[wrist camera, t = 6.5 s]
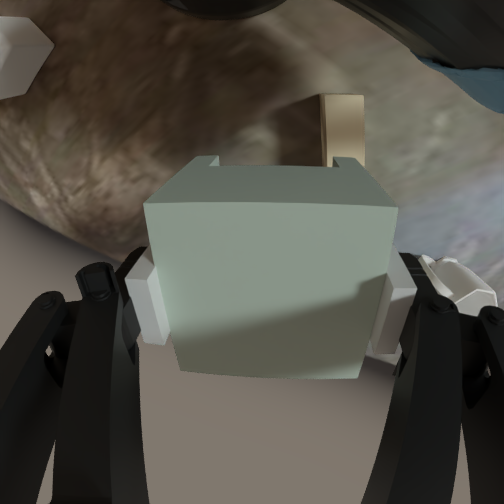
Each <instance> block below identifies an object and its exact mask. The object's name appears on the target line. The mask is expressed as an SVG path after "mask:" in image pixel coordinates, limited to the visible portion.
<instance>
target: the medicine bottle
mask: <svg viewBox="0 0 504 504" xmlns="http://www.w3.org/2000/svg"><path fill="white" fill-rule="evenodd" d="M53 48H54V43H53V42H52V41H51V40H50V39H49V38H48V37H47V36H46V35H45V34H44V33H43V32H42V31H41V30H40V29H39V28H38V27H37V26H36V25H35V24H34V23H33V22H32V21H31V20H30V19H29V18H27V17H7V16H0V100H1V99H6V98H10V97H14V96H19V95H24V94H25V93H26V92H27V90H28V88H29V87H30V85H31V83H32V81H33V80H34V78H35V76H36V75H37V73H38V71H39V70H40V68H41V67H42V65H43V63H44V62H45V60H46V59H47V57H48V56H49V54H50V53H51V51H52V50H53Z"/></svg>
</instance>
